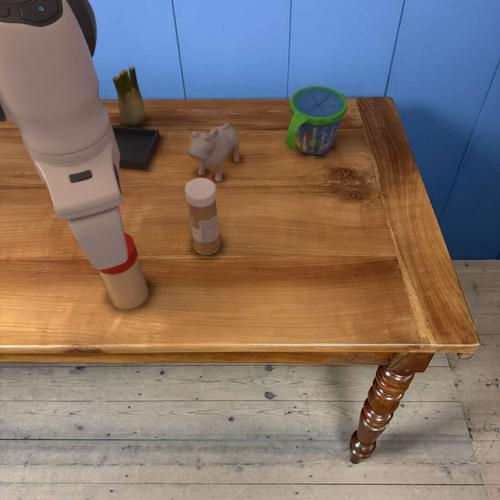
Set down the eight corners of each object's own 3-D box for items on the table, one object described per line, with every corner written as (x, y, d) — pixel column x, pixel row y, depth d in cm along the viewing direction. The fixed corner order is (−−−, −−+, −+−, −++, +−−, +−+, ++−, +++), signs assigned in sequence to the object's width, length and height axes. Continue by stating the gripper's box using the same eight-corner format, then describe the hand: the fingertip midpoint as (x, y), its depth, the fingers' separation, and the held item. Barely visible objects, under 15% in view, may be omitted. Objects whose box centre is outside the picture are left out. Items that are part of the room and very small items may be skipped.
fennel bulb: (144, 113, 100) (132, 61, 91) (152, 125, 98) (142, 73, 88) (118, 122, 98) (104, 69, 89) (126, 134, 96) (113, 81, 86)
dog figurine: (185, 185, 86) (177, 139, 78) (220, 147, 93) (217, 101, 85) (209, 195, 84) (204, 149, 76) (243, 155, 91) (242, 109, 83)
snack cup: (303, 175, 87) (308, 131, 80) (267, 148, 93) (268, 104, 85) (358, 141, 94) (368, 97, 86) (321, 118, 99) (327, 74, 91)
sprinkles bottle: (190, 239, 78) (180, 180, 67) (216, 232, 78) (210, 173, 68) (197, 259, 75) (188, 201, 64) (224, 252, 76) (219, 194, 65)
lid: (87, 272, 62) (82, 262, 60) (102, 238, 66) (98, 228, 64) (129, 277, 62) (126, 267, 60) (142, 242, 65) (140, 233, 64)
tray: (62, 162, 90) (58, 154, 89) (81, 130, 97) (78, 122, 95) (146, 170, 89) (144, 162, 87) (160, 137, 95) (159, 129, 93)
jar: (105, 307, 69) (84, 264, 61) (117, 276, 73) (99, 231, 64) (142, 312, 69) (126, 269, 60) (152, 280, 72) (139, 236, 64)
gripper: (35, 105, 55) (72, 190, 65) (56, 222, 43) (97, 303, 53) (89, 93, 56) (116, 178, 67) (124, 204, 44) (150, 286, 55)
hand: (107, 234), depth 60 cm, fingers open, 7 cm apart
